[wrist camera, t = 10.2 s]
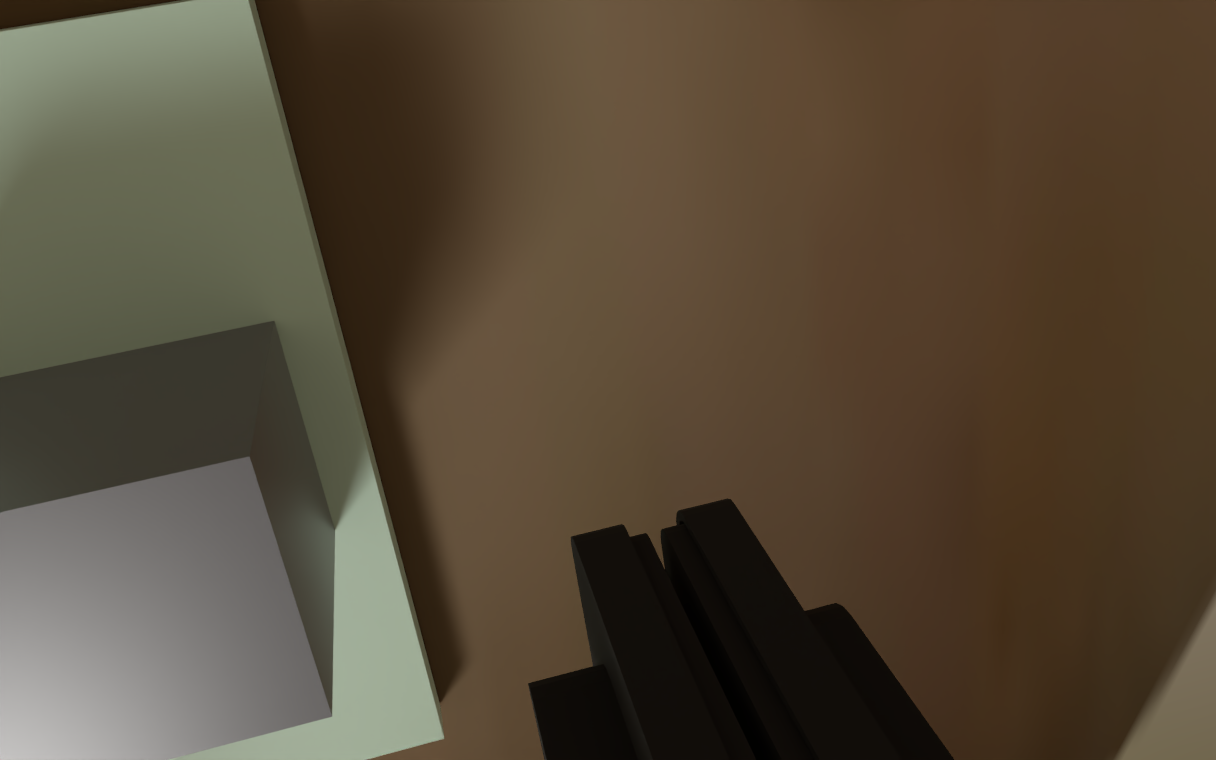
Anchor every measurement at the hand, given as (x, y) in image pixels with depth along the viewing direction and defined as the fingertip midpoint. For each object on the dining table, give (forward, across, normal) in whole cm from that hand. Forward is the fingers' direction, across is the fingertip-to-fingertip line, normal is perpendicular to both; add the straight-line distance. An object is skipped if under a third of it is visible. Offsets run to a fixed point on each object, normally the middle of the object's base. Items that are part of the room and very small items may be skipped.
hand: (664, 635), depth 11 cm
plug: (+8, +7, +1) cm, 11 cm away
